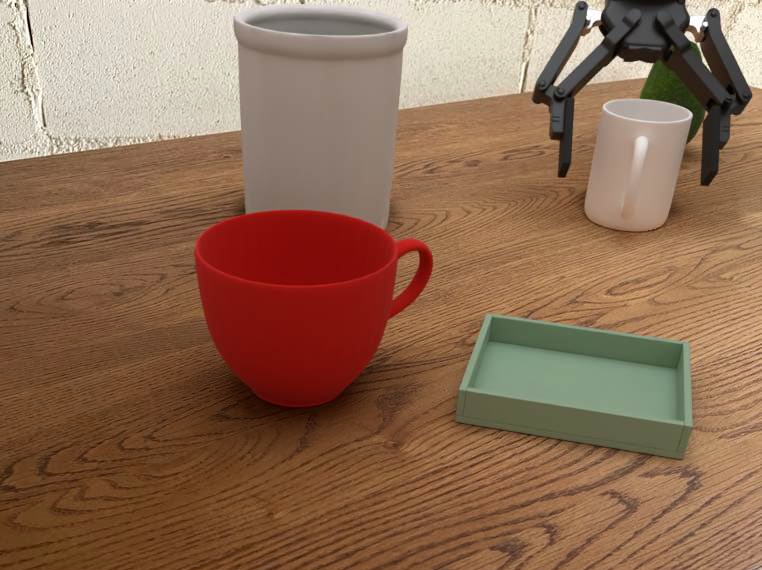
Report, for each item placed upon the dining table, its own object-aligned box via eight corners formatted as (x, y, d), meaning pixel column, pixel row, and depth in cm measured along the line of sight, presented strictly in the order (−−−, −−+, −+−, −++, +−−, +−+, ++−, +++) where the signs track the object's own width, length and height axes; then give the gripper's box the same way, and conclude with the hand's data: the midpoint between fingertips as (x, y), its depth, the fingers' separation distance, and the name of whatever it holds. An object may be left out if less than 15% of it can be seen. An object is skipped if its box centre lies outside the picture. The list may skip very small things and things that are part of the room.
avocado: (623, 139, 115) (645, 30, 107) (686, 142, 115) (713, 34, 107) (635, 159, 109) (660, 45, 101) (703, 162, 109) (732, 48, 101)
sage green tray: (681, 372, 68) (690, 341, 67) (682, 460, 59) (693, 426, 58) (482, 343, 71) (486, 312, 69) (454, 422, 62) (458, 389, 60)
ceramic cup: (472, 392, 65) (489, 253, 59) (252, 452, 58) (245, 303, 52) (378, 318, 74) (384, 190, 67) (177, 363, 67) (163, 226, 61)
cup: (666, 208, 96) (692, 103, 89) (665, 251, 87) (693, 137, 80) (585, 199, 97) (605, 94, 91) (576, 240, 88) (597, 127, 82)
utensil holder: (336, 187, 98) (340, -3, 87) (427, 232, 88) (444, 25, 77) (213, 213, 91) (200, 9, 80) (298, 264, 81) (296, 42, 70)
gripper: (761, -1, 93) (754, 201, 91) (511, -14, 94) (499, 186, 92) (794, -56, 85) (787, 162, 83) (523, -70, 86) (509, 146, 84)
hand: (636, 175), depth 87 cm, fingers open, 13 cm apart
